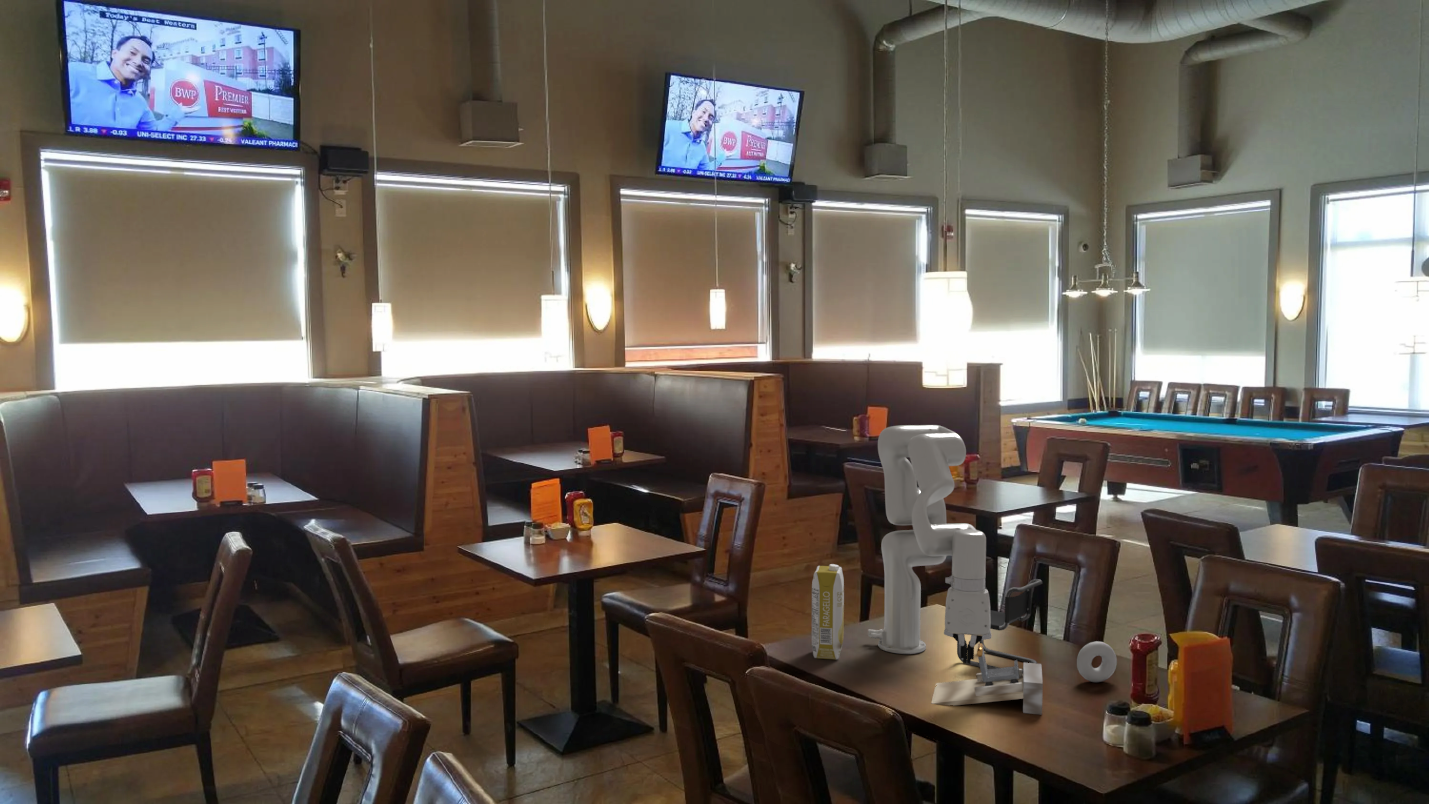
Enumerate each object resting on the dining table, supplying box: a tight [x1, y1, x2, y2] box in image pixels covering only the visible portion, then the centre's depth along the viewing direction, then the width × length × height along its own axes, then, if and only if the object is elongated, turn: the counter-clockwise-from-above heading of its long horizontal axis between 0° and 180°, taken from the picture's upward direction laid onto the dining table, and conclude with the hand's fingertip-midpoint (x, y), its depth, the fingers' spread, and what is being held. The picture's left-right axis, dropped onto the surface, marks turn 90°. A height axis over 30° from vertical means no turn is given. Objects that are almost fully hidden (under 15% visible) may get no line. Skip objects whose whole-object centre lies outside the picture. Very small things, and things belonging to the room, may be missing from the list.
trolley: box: [976, 642, 1020, 686], centre depth 231 cm, size 9×7×9 cm
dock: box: [930, 661, 1044, 716], centre depth 232 cm, size 24×14×8 cm, turn 73°
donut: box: [1076, 640, 1118, 683], centre depth 242 cm, size 10×4×10 cm, turn 99°
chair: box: [956, 578, 1043, 674], centre depth 256 cm, size 13×17×22 cm
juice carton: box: [811, 563, 845, 660], centre depth 263 cm, size 9×8×24 cm
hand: (967, 661), depth 233 cm, fingers closed
